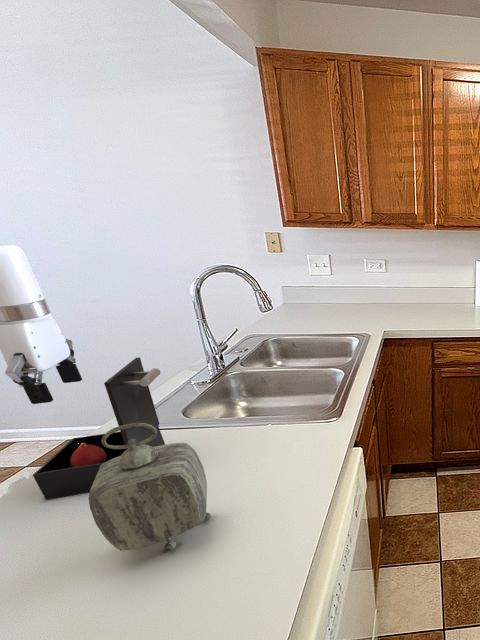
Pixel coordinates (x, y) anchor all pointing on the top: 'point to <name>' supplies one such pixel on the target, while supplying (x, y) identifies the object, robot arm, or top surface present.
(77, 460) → the red round piece
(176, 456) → the tabletop clock
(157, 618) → the top surface
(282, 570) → the top surface
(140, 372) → the lid
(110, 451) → the black shallow rectangular box
